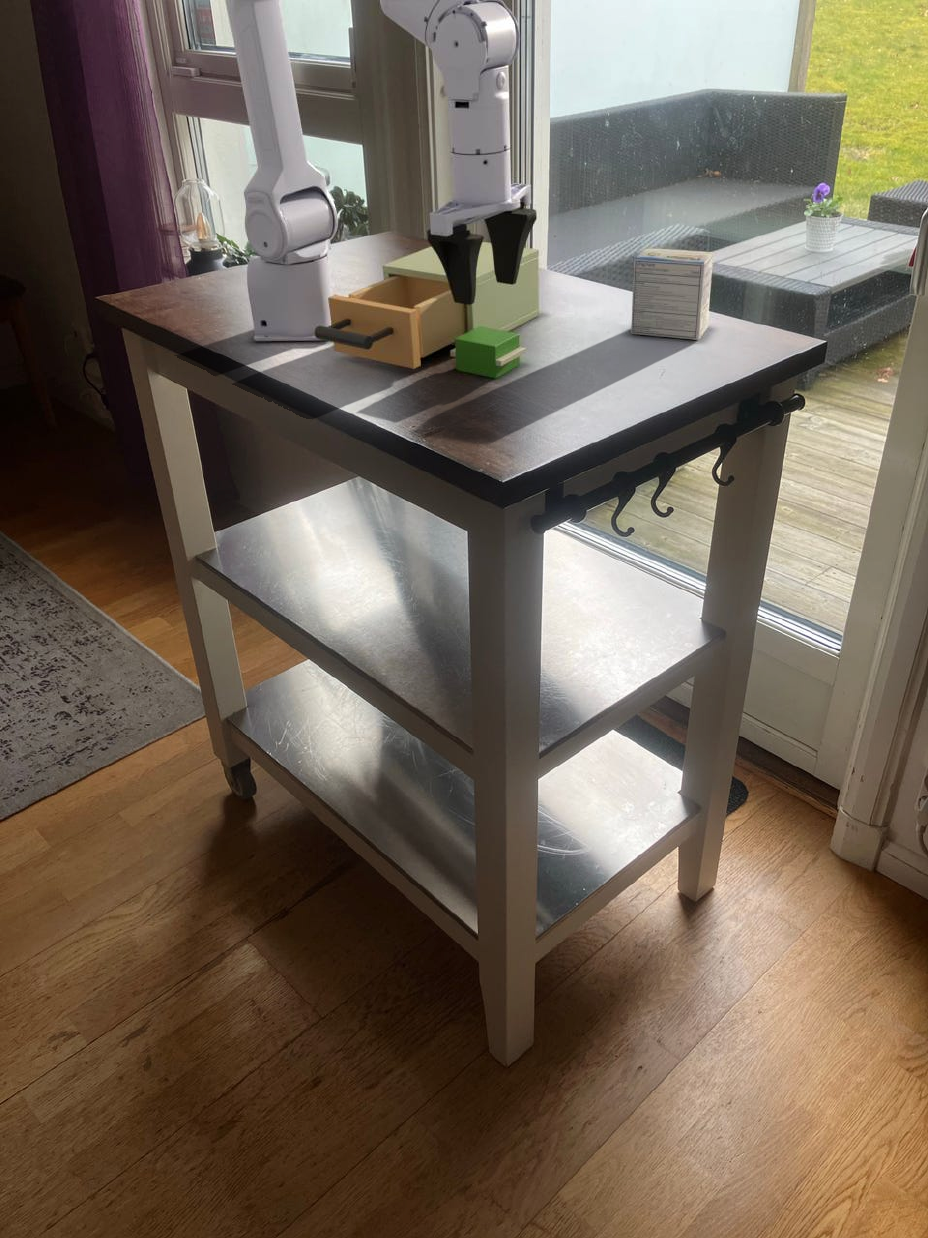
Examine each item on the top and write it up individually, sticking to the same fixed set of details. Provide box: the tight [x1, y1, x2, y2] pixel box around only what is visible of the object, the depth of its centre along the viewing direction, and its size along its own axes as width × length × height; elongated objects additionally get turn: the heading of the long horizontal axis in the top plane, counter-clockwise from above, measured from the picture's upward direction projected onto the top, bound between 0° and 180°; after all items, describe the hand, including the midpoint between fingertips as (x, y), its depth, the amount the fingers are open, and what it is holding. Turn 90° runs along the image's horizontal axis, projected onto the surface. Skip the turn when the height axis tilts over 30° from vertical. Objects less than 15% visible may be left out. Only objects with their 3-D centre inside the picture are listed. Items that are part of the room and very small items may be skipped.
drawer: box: [315, 275, 468, 370], centre depth 111 cm, size 17×11×6 cm, turn 144°
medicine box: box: [630, 248, 714, 341], centre depth 113 cm, size 8×4×9 cm, turn 65°
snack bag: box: [449, 326, 526, 379], centre depth 108 cm, size 7×5×4 cm
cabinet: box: [382, 241, 540, 346], centre depth 119 cm, size 14×13×8 cm
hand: (485, 292), depth 104 cm, fingers open, 7 cm apart
